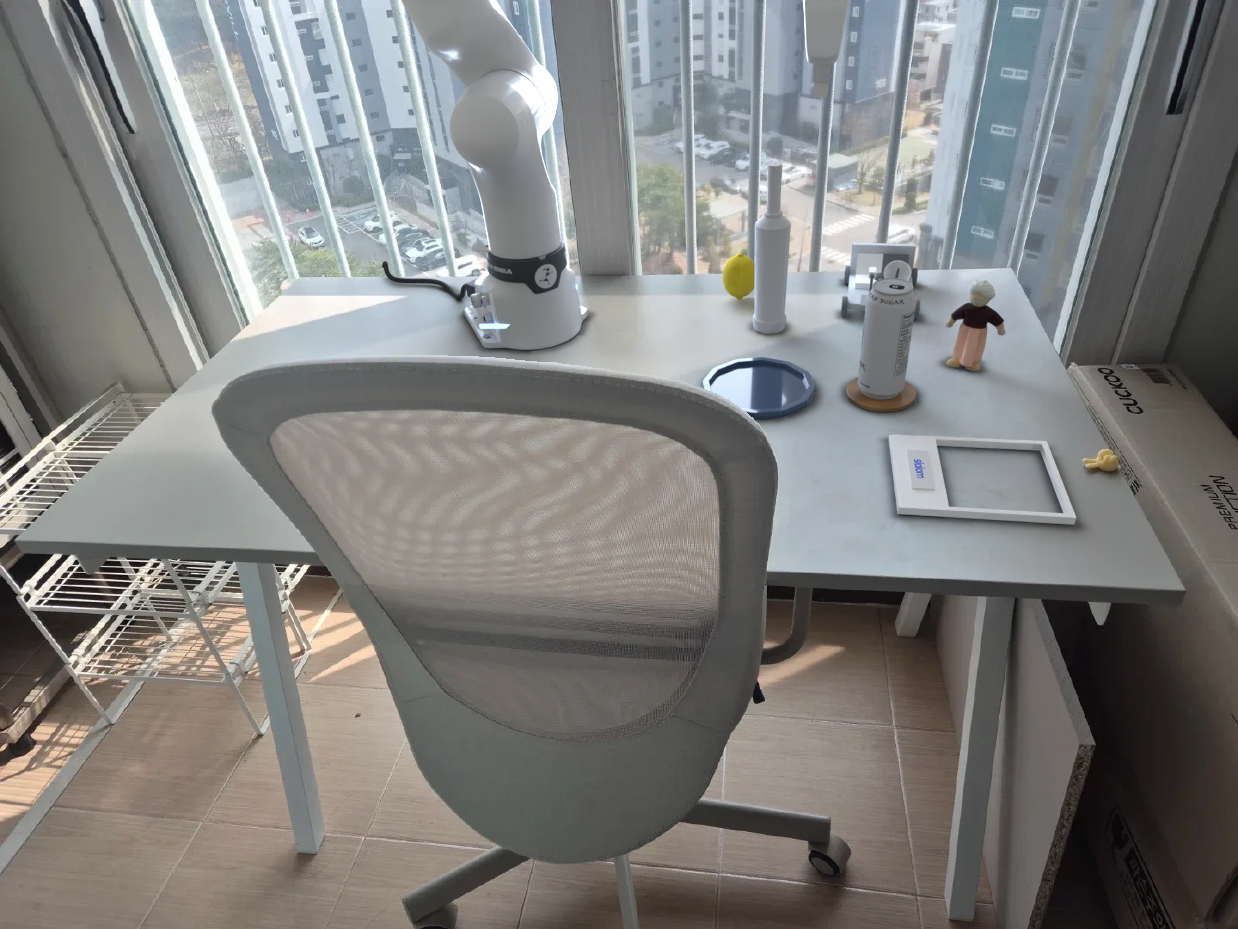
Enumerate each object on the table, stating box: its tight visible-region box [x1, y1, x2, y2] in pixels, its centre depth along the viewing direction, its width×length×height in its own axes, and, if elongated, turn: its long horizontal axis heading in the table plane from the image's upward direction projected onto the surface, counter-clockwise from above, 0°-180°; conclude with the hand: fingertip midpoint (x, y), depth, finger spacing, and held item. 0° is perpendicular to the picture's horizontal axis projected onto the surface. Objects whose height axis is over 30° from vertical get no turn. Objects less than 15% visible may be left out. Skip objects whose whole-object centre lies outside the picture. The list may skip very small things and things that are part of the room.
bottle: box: [752, 161, 792, 335], centre depth 126 cm, size 5×5×25 cm
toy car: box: [840, 241, 921, 320], centre depth 135 cm, size 18×10×12 cm
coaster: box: [845, 377, 917, 413], centre depth 115 cm, size 9×9×1 cm
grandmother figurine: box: [944, 279, 1007, 372], centre depth 116 cm, size 8×4×13 cm, turn 70°
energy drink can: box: [857, 278, 917, 400], centre depth 110 cm, size 6×6×15 cm
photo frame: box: [888, 434, 1077, 526], centre depth 98 cm, size 15×1×18 cm
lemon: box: [722, 252, 755, 301], centre depth 140 cm, size 6×6×8 cm
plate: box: [701, 356, 816, 421], centre depth 117 cm, size 15×15×1 cm
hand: (821, 87), depth 111 cm, fingers open, 8 cm apart
